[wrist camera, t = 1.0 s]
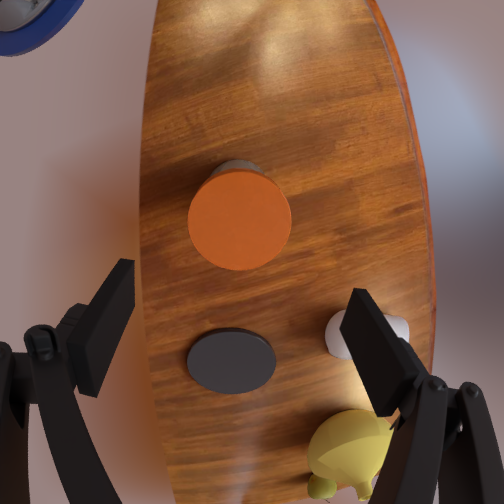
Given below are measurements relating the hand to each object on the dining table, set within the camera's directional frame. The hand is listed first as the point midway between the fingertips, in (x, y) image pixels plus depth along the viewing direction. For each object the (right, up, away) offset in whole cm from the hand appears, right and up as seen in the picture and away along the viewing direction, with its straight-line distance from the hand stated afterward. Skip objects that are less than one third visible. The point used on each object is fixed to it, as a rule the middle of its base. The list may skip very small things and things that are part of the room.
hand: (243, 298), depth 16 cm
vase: (+20, -34, +43) cm, 58 cm away
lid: (-1, +5, +11) cm, 12 cm away
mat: (-3, -15, +33) cm, 36 cm away
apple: (+19, -58, +53) cm, 81 cm away
